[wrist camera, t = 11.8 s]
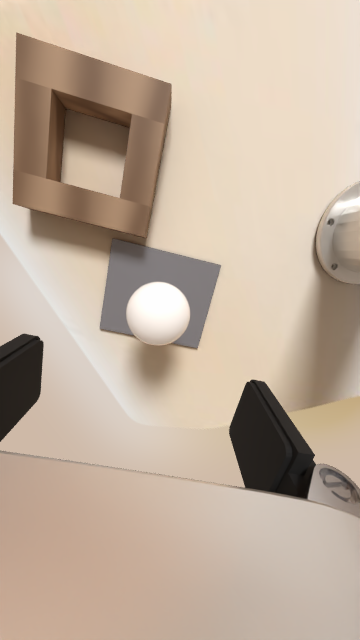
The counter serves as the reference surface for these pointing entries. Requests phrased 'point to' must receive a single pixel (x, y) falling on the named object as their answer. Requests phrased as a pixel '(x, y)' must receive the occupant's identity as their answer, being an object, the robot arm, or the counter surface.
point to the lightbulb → (158, 313)
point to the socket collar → (95, 100)
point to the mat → (156, 266)
